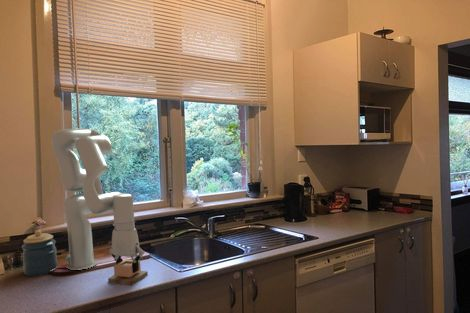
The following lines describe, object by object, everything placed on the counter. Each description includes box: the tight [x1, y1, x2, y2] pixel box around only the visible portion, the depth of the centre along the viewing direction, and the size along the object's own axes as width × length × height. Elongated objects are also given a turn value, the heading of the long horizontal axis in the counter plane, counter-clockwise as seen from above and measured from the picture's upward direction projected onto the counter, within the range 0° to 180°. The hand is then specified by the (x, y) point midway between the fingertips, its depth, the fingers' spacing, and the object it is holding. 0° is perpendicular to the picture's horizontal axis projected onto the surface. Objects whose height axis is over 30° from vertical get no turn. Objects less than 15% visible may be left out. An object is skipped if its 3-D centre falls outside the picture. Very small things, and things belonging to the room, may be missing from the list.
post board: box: [107, 263, 149, 286], centre depth 144 cm, size 11×10×6 cm
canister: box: [21, 230, 59, 277], centre depth 157 cm, size 13×13×18 cm
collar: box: [113, 258, 142, 277], centre depth 143 cm, size 7×7×4 cm
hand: (127, 270), depth 143 cm, fingers closed on collar, 6 cm apart
